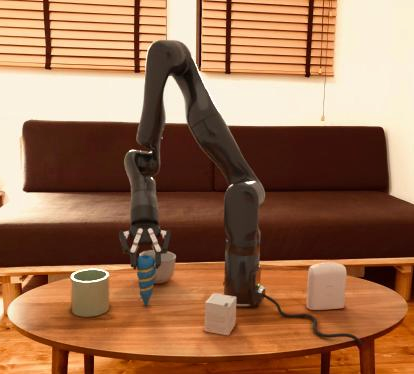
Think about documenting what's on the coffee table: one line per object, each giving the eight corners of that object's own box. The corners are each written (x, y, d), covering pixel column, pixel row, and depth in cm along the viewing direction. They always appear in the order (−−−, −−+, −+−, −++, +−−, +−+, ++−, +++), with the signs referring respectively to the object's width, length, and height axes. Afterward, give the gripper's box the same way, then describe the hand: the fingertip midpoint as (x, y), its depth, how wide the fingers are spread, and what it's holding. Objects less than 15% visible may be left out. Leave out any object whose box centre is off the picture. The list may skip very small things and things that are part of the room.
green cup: (115, 304, 121) (115, 272, 120) (95, 319, 113) (95, 284, 111) (85, 299, 124) (85, 266, 122) (63, 312, 115) (62, 278, 114)
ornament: (151, 311, 118) (152, 254, 115) (132, 308, 119) (132, 252, 116) (158, 303, 123) (159, 248, 120) (139, 300, 124) (140, 246, 121)
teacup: (145, 272, 145) (145, 247, 144) (179, 275, 144) (179, 250, 142) (130, 289, 131) (130, 262, 130) (168, 292, 130) (168, 265, 129)
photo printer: (309, 311, 121) (312, 266, 119) (303, 304, 125) (306, 260, 123) (346, 309, 123) (350, 265, 120) (339, 303, 127) (343, 259, 125)
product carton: (212, 320, 114) (213, 292, 113) (235, 324, 112) (237, 296, 111) (203, 331, 108) (204, 302, 107) (228, 336, 106) (229, 306, 105)
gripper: (117, 203, 122) (116, 262, 113) (171, 203, 125) (175, 260, 116) (117, 218, 128) (117, 275, 119) (169, 217, 131) (173, 273, 122)
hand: (146, 267), depth 117 cm, fingers closed on ornament, 5 cm apart
